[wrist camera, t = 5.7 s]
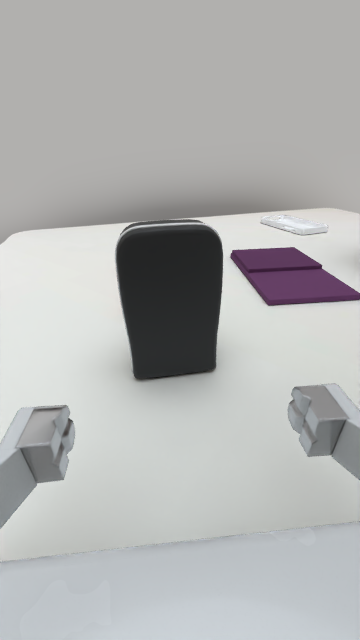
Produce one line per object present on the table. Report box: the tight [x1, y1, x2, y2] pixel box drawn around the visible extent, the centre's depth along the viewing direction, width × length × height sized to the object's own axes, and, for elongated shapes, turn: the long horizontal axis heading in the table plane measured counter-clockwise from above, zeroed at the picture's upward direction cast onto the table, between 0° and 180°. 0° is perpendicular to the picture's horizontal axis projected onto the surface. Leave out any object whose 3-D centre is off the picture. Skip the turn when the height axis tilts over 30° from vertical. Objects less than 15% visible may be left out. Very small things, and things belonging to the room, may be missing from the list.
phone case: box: [261, 215, 328, 235], centre depth 66 cm, size 7×1×15 cm
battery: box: [115, 219, 223, 378], centre depth 21 cm, size 7×4×11 cm, turn 99°
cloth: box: [231, 247, 360, 305], centre depth 40 cm, size 11×18×1 cm, turn 5°
